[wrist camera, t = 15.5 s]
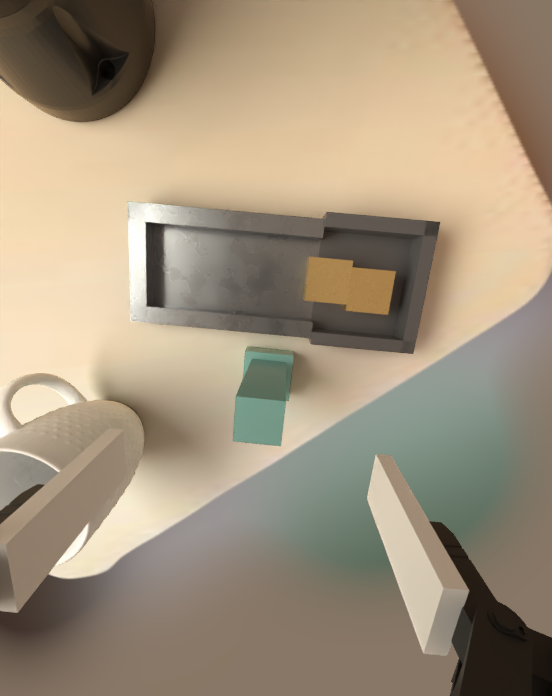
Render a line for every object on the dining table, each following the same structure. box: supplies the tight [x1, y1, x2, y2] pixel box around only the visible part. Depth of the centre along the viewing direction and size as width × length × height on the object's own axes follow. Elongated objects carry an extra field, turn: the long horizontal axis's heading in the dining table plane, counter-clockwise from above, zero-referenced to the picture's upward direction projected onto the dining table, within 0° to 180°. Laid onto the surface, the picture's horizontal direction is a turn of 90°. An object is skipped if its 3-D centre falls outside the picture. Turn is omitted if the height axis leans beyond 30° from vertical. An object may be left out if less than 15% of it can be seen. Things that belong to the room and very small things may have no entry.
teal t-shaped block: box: [233, 347, 294, 446], centre depth 27 cm, size 5×5×12 cm
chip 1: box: [303, 257, 353, 305], centre depth 28 cm, size 4×4×2 cm
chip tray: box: [309, 212, 440, 354], centre depth 29 cm, size 12×10×3 cm
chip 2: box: [341, 267, 396, 315], centre depth 28 cm, size 4×4×2 cm
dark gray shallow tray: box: [128, 201, 325, 338], centre depth 29 cm, size 11×18×2 cm, turn 85°
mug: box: [0, 373, 144, 567], centre depth 28 cm, size 15×11×13 cm
